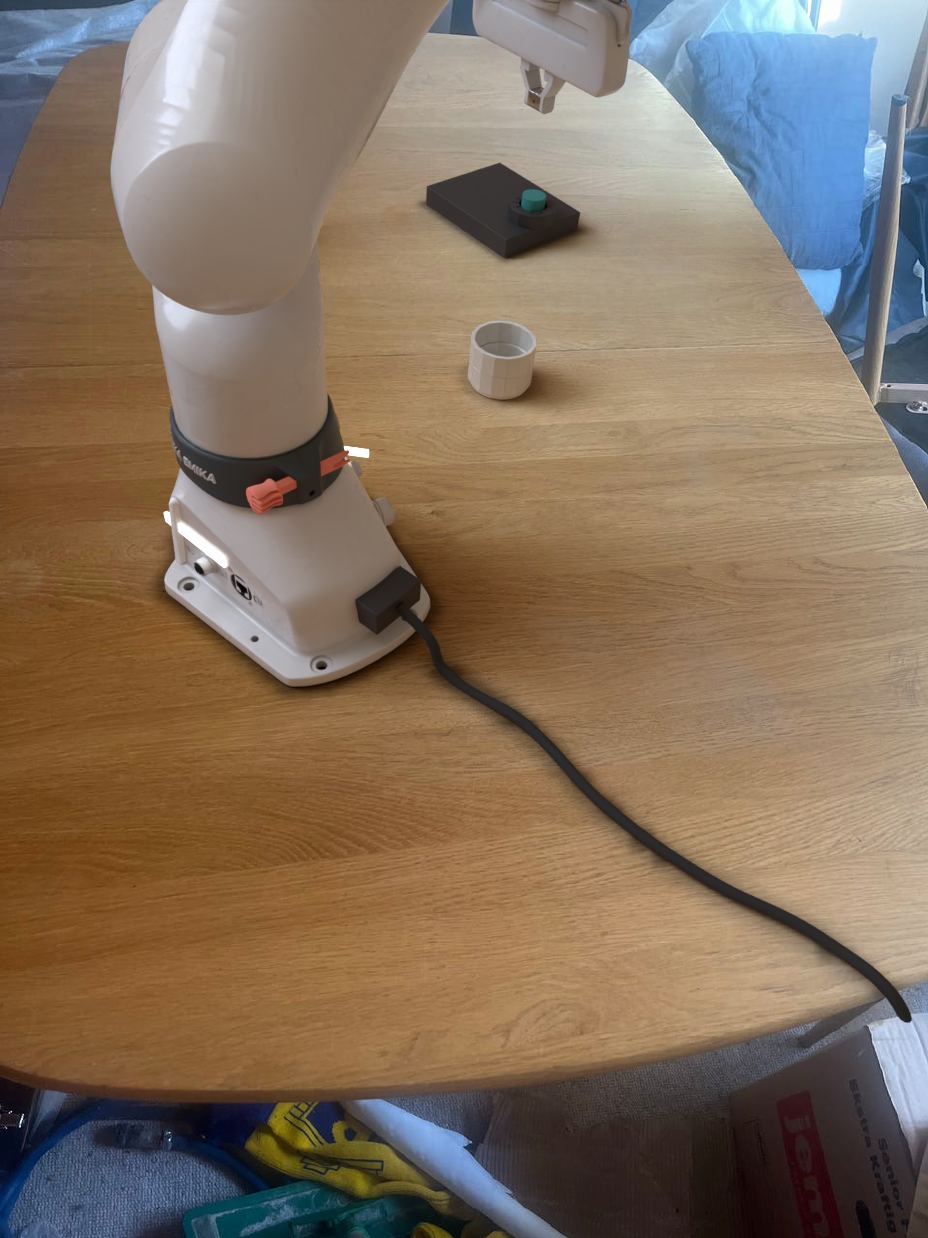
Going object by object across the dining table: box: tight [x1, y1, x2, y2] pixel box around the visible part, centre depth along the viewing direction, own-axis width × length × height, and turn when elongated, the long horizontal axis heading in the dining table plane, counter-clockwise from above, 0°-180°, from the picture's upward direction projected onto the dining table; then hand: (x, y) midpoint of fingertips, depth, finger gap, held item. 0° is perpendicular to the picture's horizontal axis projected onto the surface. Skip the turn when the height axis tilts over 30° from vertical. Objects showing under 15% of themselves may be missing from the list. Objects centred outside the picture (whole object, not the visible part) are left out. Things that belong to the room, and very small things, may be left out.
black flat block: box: [425, 162, 581, 259], centre depth 117 cm, size 16×12×4 cm
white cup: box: [467, 319, 538, 401], centre depth 96 cm, size 6×6×5 cm
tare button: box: [521, 189, 546, 212], centre depth 113 cm, size 3×3×2 cm
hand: (538, 108), depth 105 cm, fingers closed
